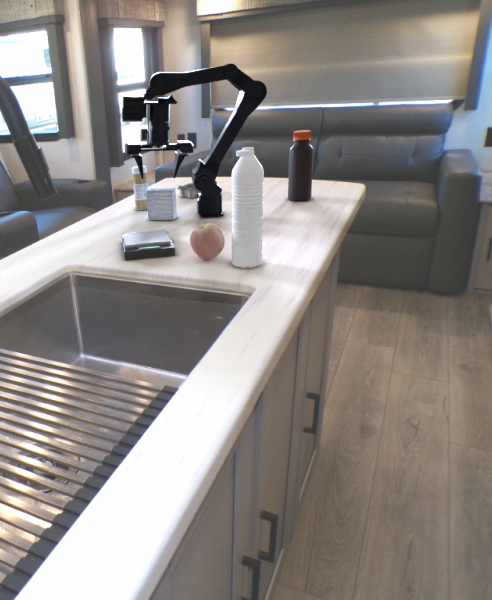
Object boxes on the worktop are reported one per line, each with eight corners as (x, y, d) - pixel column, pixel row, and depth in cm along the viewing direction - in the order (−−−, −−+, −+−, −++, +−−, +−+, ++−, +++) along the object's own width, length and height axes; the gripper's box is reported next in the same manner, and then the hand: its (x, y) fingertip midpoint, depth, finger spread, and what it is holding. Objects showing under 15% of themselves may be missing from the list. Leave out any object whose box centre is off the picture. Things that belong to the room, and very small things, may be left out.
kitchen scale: (167, 238, 141) (167, 228, 140) (175, 255, 128) (174, 244, 127) (122, 242, 141) (121, 233, 140) (124, 260, 128) (124, 249, 127)
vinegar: (313, 196, 166) (317, 129, 158) (307, 202, 161) (311, 132, 153) (291, 195, 169) (293, 129, 161) (285, 201, 164) (287, 133, 156)
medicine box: (177, 216, 160) (176, 187, 156) (174, 220, 156) (172, 190, 152) (151, 216, 162) (149, 187, 159) (147, 220, 159) (145, 191, 155)
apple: (202, 250, 129) (201, 218, 126) (230, 255, 125) (230, 221, 121) (184, 260, 124) (182, 227, 121) (213, 265, 119) (212, 231, 116)
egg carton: (191, 199, 178) (191, 186, 176) (175, 196, 184) (175, 184, 182) (213, 192, 184) (213, 180, 182) (197, 189, 189) (196, 178, 188)
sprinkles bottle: (142, 206, 175) (139, 164, 170) (152, 208, 172) (149, 165, 166) (132, 209, 172) (128, 167, 167) (141, 211, 169) (138, 168, 164)
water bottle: (235, 257, 123) (235, 145, 113) (264, 259, 120) (267, 144, 110) (225, 270, 116) (224, 152, 106) (256, 273, 113) (258, 151, 103)
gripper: (186, 118, 156) (184, 172, 162) (122, 119, 155) (123, 174, 161) (195, 121, 146) (192, 179, 152) (126, 123, 145) (127, 181, 151)
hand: (158, 178), depth 154 cm, fingers open, 9 cm apart
